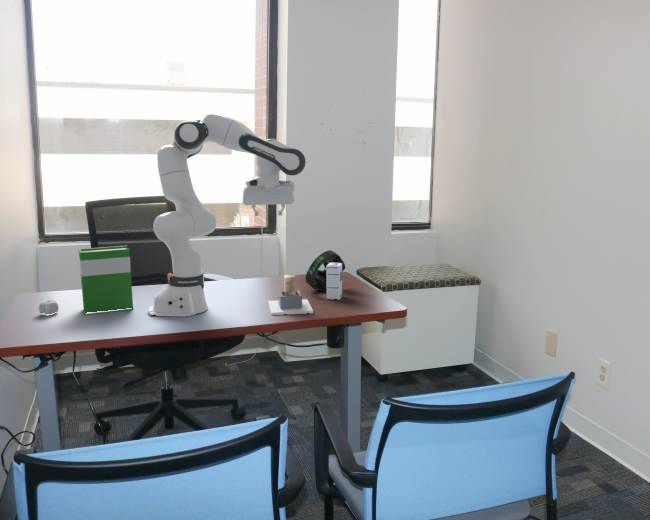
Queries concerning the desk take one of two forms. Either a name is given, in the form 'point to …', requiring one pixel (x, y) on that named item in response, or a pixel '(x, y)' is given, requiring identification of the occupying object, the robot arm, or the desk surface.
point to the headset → (319, 277)
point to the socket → (289, 304)
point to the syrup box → (334, 280)
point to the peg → (289, 285)
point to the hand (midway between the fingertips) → (268, 215)
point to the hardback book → (106, 278)
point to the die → (48, 307)
